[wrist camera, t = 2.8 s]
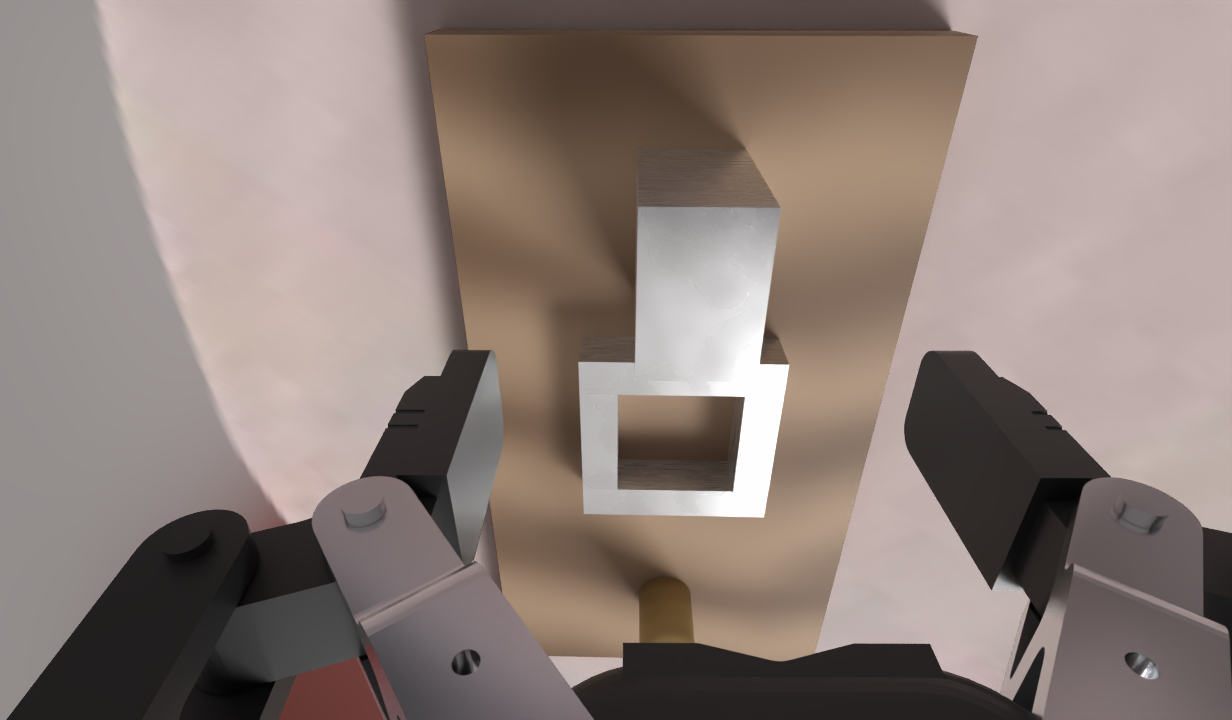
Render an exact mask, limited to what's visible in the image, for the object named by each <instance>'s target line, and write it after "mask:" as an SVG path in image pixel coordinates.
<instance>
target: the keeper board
mask: <svg viewBox="0 0 1232 720" xmlns="http://www.w3.org/2000/svg"><path fill="white" fill-rule="evenodd" d="M424 38H425V45H426V52H427V59H428V67H429V74H430V81H431V88H432V95H433V102H434V109H435V116H436V124H437V131H438V138H439V145H440V152H441V159H442V166H443V173H444V181H445V188H446V195H447V202H448V209H449V216H450V223H451V230H452V238H453V245H454V252H455V259H456V266H457V273H458V280H459V288H460V295H461V302H462V309H463V316H464V323H465V330H466V337H467V345H468V350H493V351H494V353H495V356H496V362H497V370H498V378H499V387H500V395H501V404H502V412H503V424H504V433H503V445H502V451H501V455H500V459H499V463H498V467H497V471H496V475H495V479H494V483H493V487H492V491H491V494H490V498H489V501H490V508H491V516H492V523H493V530H494V537H495V544H496V551H497V558H498V566H499V573H500V580H501V587H502V593H503V595H504V596H505V598H506V599H507V600H508V602H509V603H510V604H511V606H512V607H513V609H514V610H515V611H516V613H517V614H518V615H519V617H520V618H521V620H522V621H523V622H524V624H525V625H526V627H527V628H528V629H529V631H530V632H531V633H532V635H533V636H534V638H535V639H536V640H537V642H538V643H539V644H540V646H541V647H542V649H543V650H544V651H545V653H546V654H547V656H577V657H620V658H623V643H700V644H705V645H709V646H713V647H717V648H722V649H726V650H730V651H734V652H738V653H743V654H747V655H751V656H755V657H760V658H764V659H768V660H773V661H787V660H792V659H796V658H800V657H803V656H807V655H811V654H815V650H816V646H817V642H818V639H819V635H820V631H821V627H822V623H823V620H824V616H825V612H826V608H827V605H828V601H829V597H830V593H831V589H832V586H833V582H834V578H835V574H836V571H837V567H838V563H839V559H840V555H841V552H842V548H843V544H844V540H845V537H846V533H847V529H848V525H849V521H850V518H851V514H852V510H853V506H854V503H855V499H856V495H857V491H858V487H859V484H860V480H861V476H862V472H863V469H864V465H865V461H866V457H867V453H868V450H869V446H870V442H871V438H872V434H873V431H874V427H875V423H876V419H877V416H878V412H879V408H880V404H881V400H882V397H883V393H884V389H885V385H886V382H887V378H888V374H889V370H890V366H891V363H892V359H893V355H894V351H895V348H896V344H897V340H898V336H899V332H900V329H901V325H902V321H903V317H904V314H905V310H906V306H907V302H908V298H909V295H910V291H911V287H912V283H913V280H914V276H915V272H916V268H917V264H918V261H919V257H920V253H921V249H922V246H923V242H924V238H925V234H926V230H927V227H928V223H929V219H930V215H931V212H932V208H933V204H934V200H935V196H936V193H937V189H938V185H939V181H940V178H941V174H942V170H943V166H944V162H945V159H946V155H947V151H948V147H949V144H950V140H951V136H952V132H953V128H954V125H955V121H956V117H957V113H958V109H959V106H960V102H961V98H962V94H963V91H964V87H965V83H966V79H967V75H968V72H969V68H970V64H971V60H972V57H973V53H974V49H975V45H976V41H977V38H978V36H975V35H971V34H966V33H962V32H957V31H917V30H469V29H439V30H436V31H433V32H430V33H428V34H425V35H424ZM637 148H702V149H747V151H748V153H749V154H750V156H751V158H752V160H753V161H754V163H755V165H756V166H757V168H758V170H759V171H760V173H761V175H762V176H763V178H764V180H765V182H766V183H767V185H768V187H769V188H770V190H771V192H772V193H773V195H774V197H775V198H776V200H777V202H778V204H779V205H780V207H781V212H780V219H779V226H778V233H777V241H776V248H775V255H774V262H773V270H772V277H771V284H770V291H769V299H768V306H767V313H766V320H765V328H764V335H763V338H779V339H780V342H781V344H782V347H783V350H784V352H785V355H786V358H787V360H788V363H789V369H788V375H787V381H786V387H785V393H784V399H783V405H782V411H781V417H780V423H779V429H778V435H777V441H776V447H775V453H774V459H773V465H772V471H771V477H770V483H769V489H768V495H767V501H766V507H765V513H764V517H722V516H667V515H613V514H584V505H583V477H582V450H581V422H580V394H579V367H578V361H579V354H580V347H581V339H582V336H624V337H635V255H636V196H637ZM734 402H735V396H666V395H619V444H618V459H633V460H693V461H728V452H729V444H730V436H731V427H732V419H733V410H734Z"/></svg>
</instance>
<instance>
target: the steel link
mask: <svg viewBox="0 0 1232 720" xmlns="http://www.w3.org/2000/svg"><path fill="white" fill-rule="evenodd" d="M780 212H781V207H780V205H779V204H778V202H777V200H776V198H775V197H774V195H773V193H772V192H771V190H770V188H769V187H768V185H767V183H766V182H765V180H764V178H763V176H762V175H761V173H760V171H759V170H758V168H757V166H756V165H755V163H754V161H753V160H752V158H751V156H750V154H749V153H748V151H747V149H702V148H637V196H636V255H635V337H624V336H582V339H581V347H580V354H579V361H578V367H579V394H580V422H581V450H582V477H583V505H584V514H613V515H667V516H722V517H764V513H765V507H766V501H767V495H768V489H769V483H770V477H771V471H772V465H773V459H774V453H775V447H776V441H777V435H778V429H779V423H780V417H781V411H782V405H783V399H784V393H785V387H786V381H787V375H788V369H789V363H788V360H787V358H786V355H785V352H784V350H783V347H782V344H781V342H780V339H779V338H763V335H764V328H765V320H766V313H767V306H768V299H769V291H770V284H771V277H772V270H773V262H774V255H775V248H776V241H777V233H778V226H779V219H780ZM619 395H666V396H735V402H734V410H733V419H732V427H731V436H730V444H729V452H728V461H693V460H633V459H618V444H619Z"/></svg>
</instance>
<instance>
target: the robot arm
mask: <svg viewBox="0 0 1232 720" xmlns="http://www.w3.org/2000/svg"><path fill="white" fill-rule="evenodd" d="M503 433H504V424H503V412H502V404H501V395H500V387H499V378H498V370H497V362H496V356H495V353H494V351H493V350H453V351H452V352H451V354H450V356H449V358H448V361H447V363H446V365H445V367H444V369H443V372H442V374H441V376H424V377H423V378H421V379H420V380H419V381H418V382H416V383H415V384H414V385H413V386H411V387H410V388H409V389H408V390H407V391H405V393H404V395H403V397H402V398H401V400H400V402H399V404H398V406H397V408H396V413H394V414H393V416H392V418H391V420H390V422H389V423H388V428H386V429H385V431H384V433H383V435H382V437H381V439H380V441H379V443H378V445H377V447H376V448H375V450H374V452H373V454H372V456H371V458H370V460H369V462H368V464H367V466H366V468H365V470H364V472H363V473H362V475H361V477H360V479H358V480H355V481H352V482H349V483H347V484H345V485H342V486H340V487H339V488H337V489H335V490H334V491H332V492H331V493H330V494H328V495H327V496H326V497H325V498H324V499H323V500H322V501H321V502H320V503H319V505H318V506H317V507H316V509H315V511H314V513H313V517H312V518H310V519H308V520H304V521H301V522H297V523H293V524H288V525H284V526H279V527H275V528H271V529H266V530H262V531H258V532H253V533H251V531H250V529H249V526H248V524H247V522H246V520H245V519H244V518H243V516H241V515H239V514H238V513H235V512H233V511H228V510H207V511H202V512H197V513H193V514H190V515H187V516H184V517H182V518H179V519H177V520H175V521H173V522H171V523H169V524H167V525H165V526H164V527H162V528H160V529H158V530H157V531H156V532H155V533H153V534H152V535H150V536H149V537H148V538H147V539H146V540H145V541H144V542H143V543H142V544H141V545H140V546H139V547H138V548H137V549H136V551H135V552H134V554H133V555H132V556H131V557H130V559H129V560H128V561H127V563H126V564H125V565H124V567H123V568H122V569H121V571H120V572H119V573H118V574H117V576H116V577H115V578H114V580H113V581H112V582H111V584H110V585H109V586H108V588H107V589H106V590H105V591H104V593H103V594H102V595H101V597H100V598H99V599H98V601H97V602H96V603H95V605H94V606H93V607H92V609H91V610H90V611H89V612H88V614H87V615H86V616H85V618H84V619H83V620H82V621H81V623H80V624H79V626H78V627H77V628H76V629H75V631H74V632H73V633H72V635H71V636H70V637H69V639H68V640H67V641H66V642H65V644H64V645H63V646H62V648H61V649H60V650H59V652H58V653H57V654H56V656H55V657H54V658H53V659H52V661H51V662H50V663H49V665H48V666H47V667H46V669H45V670H44V671H43V673H42V674H41V675H40V676H39V678H38V679H37V680H36V682H35V683H34V684H33V686H32V687H31V688H30V690H29V691H28V692H27V693H26V695H25V696H24V697H23V699H22V700H21V701H20V703H19V704H18V705H17V707H16V708H15V709H14V711H13V712H12V713H11V714H10V716H9V717H8V718H7V720H278V719H279V717H280V715H281V712H282V710H283V707H284V705H285V702H286V700H287V697H288V695H289V692H290V690H291V687H292V685H293V682H294V679H295V677H296V675H297V674H301V673H304V672H307V671H311V670H314V669H318V668H321V667H325V666H328V665H332V664H335V663H338V662H342V661H345V660H348V659H352V658H356V657H357V659H358V661H359V664H360V666H361V668H362V670H363V673H364V675H365V677H366V679H367V682H368V684H369V686H370V688H371V691H372V693H373V695H374V697H375V700H376V702H377V704H378V707H379V709H380V711H381V713H382V716H383V718H384V720H1232V533H1228V532H1223V531H1219V530H1214V529H1209V528H1204V527H1202V526H1201V524H1200V522H1199V520H1198V519H1197V518H1196V516H1195V515H1194V514H1193V513H1192V512H1191V511H1190V510H1189V509H1188V508H1187V507H1185V506H1184V505H1183V504H1182V503H1180V502H1179V501H1177V500H1176V499H1174V498H1173V497H1171V496H1169V495H1167V494H1166V493H1164V492H1162V491H1160V490H1157V489H1155V488H1153V487H1150V486H1148V485H1145V484H1142V483H1139V482H1135V481H1132V480H1127V479H1122V478H1112V477H1111V476H1110V475H1109V474H1108V473H1107V472H1106V471H1105V470H1104V469H1103V468H1102V467H1101V466H1100V465H1099V464H1098V463H1097V462H1096V461H1095V460H1094V459H1093V458H1092V457H1091V456H1090V455H1089V454H1088V453H1087V452H1086V451H1085V450H1084V449H1083V448H1082V447H1081V446H1080V444H1079V443H1078V442H1077V441H1076V440H1075V439H1074V438H1073V437H1072V436H1071V435H1070V434H1069V433H1068V432H1067V431H1066V430H1062V426H1061V425H1060V424H1059V423H1058V422H1057V421H1056V420H1055V419H1054V418H1053V417H1052V416H1051V415H1047V410H1046V409H1045V408H1044V407H1043V406H1042V405H1041V404H1040V403H1039V402H1038V401H1037V400H1036V399H1035V398H1034V397H1033V396H1032V395H1031V394H1030V393H1029V392H1027V391H1025V390H1024V389H1022V388H1020V387H1019V386H1017V385H1015V384H1014V383H1012V382H1010V381H1008V380H1007V379H1005V378H1003V377H998V376H997V375H996V374H995V372H994V371H993V370H992V369H991V368H990V367H989V366H988V365H987V364H986V363H985V362H984V361H983V360H982V359H981V357H980V356H979V355H978V354H977V353H975V352H973V351H929V352H927V353H926V354H925V355H924V357H923V359H922V361H921V364H920V368H919V371H918V375H917V379H916V382H915V386H914V390H913V393H912V397H911V400H910V404H909V408H908V411H907V415H906V419H905V425H904V435H905V442H906V446H907V449H908V451H909V453H910V455H911V456H912V458H913V460H914V462H915V463H916V465H917V467H918V468H919V470H920V472H921V473H922V475H923V477H924V478H925V480H926V482H927V483H928V485H929V487H930V488H931V490H932V492H933V493H934V495H935V497H936V498H937V500H938V502H939V503H940V505H941V507H942V508H943V510H944V512H945V513H946V515H947V517H948V518H949V520H950V522H951V523H952V525H953V527H954V528H955V530H956V532H957V533H958V535H959V537H960V538H961V540H962V542H963V544H964V545H965V547H966V549H967V550H968V552H969V554H970V555H971V557H972V559H973V560H974V562H975V564H976V565H977V567H978V569H979V570H980V572H981V574H982V575H983V577H984V579H985V580H986V582H987V584H988V585H989V587H990V589H991V590H992V591H1025V593H1026V594H1027V596H1028V597H1029V601H1028V603H1027V605H1026V607H1025V609H1024V611H1023V613H1022V616H1021V620H1020V623H1019V627H1018V631H1017V634H1016V638H1015V641H1014V645H1013V649H1012V652H1011V656H1010V659H1009V663H1008V667H1007V670H1006V674H1005V678H1004V681H1003V685H1002V688H1001V692H1000V694H999V693H998V692H996V691H994V690H992V689H990V688H988V687H986V686H983V685H981V684H979V683H977V682H974V681H972V680H970V679H967V678H964V677H961V676H958V675H955V674H952V673H949V672H946V671H942V669H941V667H940V665H939V663H938V661H937V659H936V656H935V654H934V652H933V650H932V648H931V645H930V644H851V645H847V646H843V647H839V648H835V649H831V650H827V651H823V652H819V653H815V654H811V655H807V656H803V657H800V658H796V659H792V660H787V661H773V660H768V659H764V658H760V657H755V656H751V655H747V654H743V653H738V652H734V651H730V650H726V649H722V648H717V647H713V646H709V645H705V644H700V643H623V667H620V668H616V669H612V670H609V671H606V672H603V673H601V674H598V675H596V676H593V677H591V678H589V679H587V680H585V681H583V682H581V683H580V684H578V685H576V686H574V687H572V688H571V687H570V686H569V684H568V683H567V682H566V680H565V679H564V678H563V676H562V675H561V673H560V672H559V671H558V669H557V668H556V667H555V665H554V664H553V662H552V661H551V660H550V658H549V657H548V656H547V654H546V653H545V651H544V650H543V649H542V647H541V646H540V644H539V643H538V642H537V640H536V639H535V638H534V636H533V635H532V633H531V632H530V631H529V629H528V628H527V627H526V625H525V624H524V622H523V621H522V620H521V618H520V617H519V615H518V614H517V613H516V611H515V610H514V609H513V607H512V606H511V604H510V603H509V602H508V600H507V599H506V598H505V596H504V595H503V593H502V592H501V591H500V589H499V588H498V587H497V585H496V584H495V582H494V581H493V580H492V578H491V577H490V575H489V574H488V573H487V571H486V570H485V569H484V568H483V567H482V566H481V565H480V564H479V563H478V562H476V561H474V558H475V554H476V550H477V546H478V542H479V538H480V534H481V530H482V526H483V522H484V518H485V514H486V510H487V506H488V502H489V498H490V494H491V491H492V487H493V483H494V479H495V475H496V471H497V467H498V463H499V459H500V455H501V451H502V445H503Z"/></svg>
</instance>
